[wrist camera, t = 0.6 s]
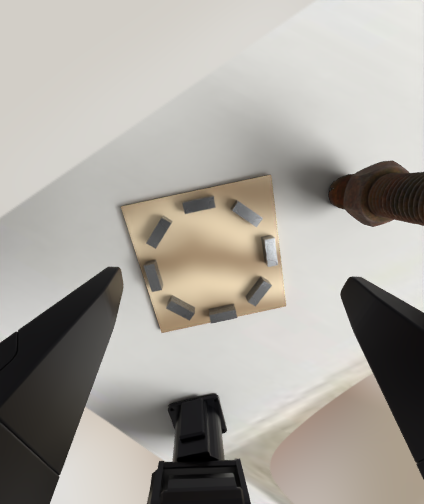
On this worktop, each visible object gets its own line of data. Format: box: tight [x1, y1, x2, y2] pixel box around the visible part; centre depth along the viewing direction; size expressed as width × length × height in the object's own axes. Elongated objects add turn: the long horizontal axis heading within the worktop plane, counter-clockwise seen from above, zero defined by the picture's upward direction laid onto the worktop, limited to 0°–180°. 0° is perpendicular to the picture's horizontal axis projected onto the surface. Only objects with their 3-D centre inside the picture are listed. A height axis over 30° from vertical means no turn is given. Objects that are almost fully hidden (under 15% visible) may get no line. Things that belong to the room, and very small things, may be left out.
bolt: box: [329, 161, 424, 227], centre depth 15 cm, size 6×5×15 cm
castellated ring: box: [144, 195, 278, 323], centre depth 23 cm, size 13×13×1 cm
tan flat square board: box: [121, 175, 286, 333], centre depth 23 cm, size 14×14×1 cm
